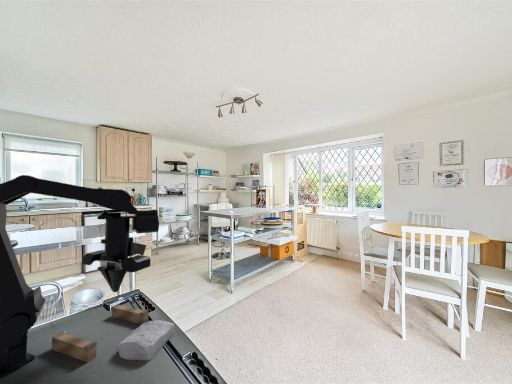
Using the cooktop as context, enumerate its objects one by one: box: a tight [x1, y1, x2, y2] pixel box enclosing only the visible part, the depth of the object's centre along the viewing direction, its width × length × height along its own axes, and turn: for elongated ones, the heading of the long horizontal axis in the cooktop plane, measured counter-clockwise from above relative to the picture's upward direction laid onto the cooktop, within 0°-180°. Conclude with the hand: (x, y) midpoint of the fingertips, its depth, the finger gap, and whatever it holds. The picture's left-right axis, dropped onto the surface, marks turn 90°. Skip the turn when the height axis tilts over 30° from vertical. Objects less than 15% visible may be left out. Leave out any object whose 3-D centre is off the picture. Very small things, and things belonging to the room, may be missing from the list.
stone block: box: [118, 319, 175, 362], centre depth 58 cm, size 12×5×10 cm
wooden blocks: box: [51, 303, 150, 364], centre depth 62 cm, size 12×18×3 cm
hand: (115, 291), depth 61 cm, fingers closed
